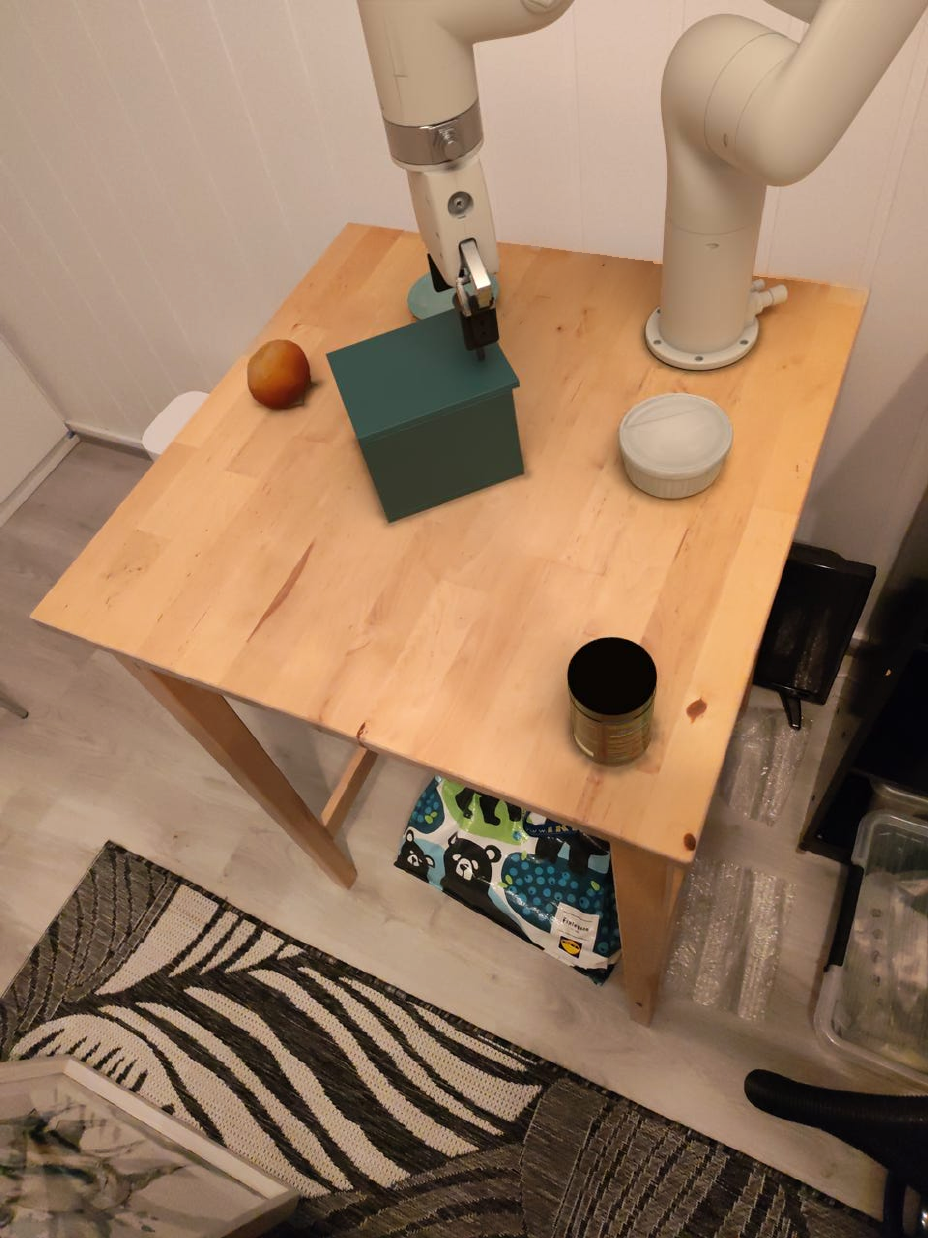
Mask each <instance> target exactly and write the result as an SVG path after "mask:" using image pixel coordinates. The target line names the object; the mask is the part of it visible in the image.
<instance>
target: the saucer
mask: <svg viewBox="0 0 928 1238" xmlns="http://www.w3.org/2000/svg"><path fill="white" fill-rule="evenodd" d="M485 270H486V268H485ZM486 272H487V275H488V277H489V280H490V282H491V286H492V293H493V297H494V301H495V302H496V300H497V297H498V295H499V291H500V285H499V281H498V279H497V277H496V276H495V274H492V275H490V274H489V273H488V271H487V270H486ZM464 273H465V276H466V275H468V272H467V270H466V268H464ZM463 286H464V289H465V291H467V292H468V293H469V295H470V296H473V295H474V293H473V286H472V283H469V284H466V285H463ZM456 292H457V291H456V288H455V287H454V288H451V289H449V290H446V291H443V292H439V293H437V292H436V291H435V289H434V287H433V282H432V277H431V272H430V271H428V272H427V273H425V274H424V275H422V276H421V277H419V278H418V279H417V280H416V281H415V282H414V283H413V285H412V286H411V287H410V289H409V291H408V293H407V298H406V303H407V307H408V310H409V311H410V313H412V315H413V316H414V317H416V318H417V319H419V320H422V319H425V318H428V317H431V316H434V315H436V314H439V313H442V312H445V311H448V310H450V309H453V308H455V307H454V305H453V303H452V298H453V295H454V294H455V293H456Z"/></svg>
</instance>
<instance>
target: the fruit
mask: <svg viewBox="0 0 928 1238" xmlns="http://www.w3.org/2000/svg"><path fill="white" fill-rule="evenodd" d="M246 367H247V368H246V378H247V382H246V383H247V388H248V390H249V393H250V395H251V396H252V399H254V400H255V401H256V402H258V403H260V404H261V405H263V406H264V407H266V408H269V409H273V410H274V409H275V410H276V409H277V410H286V409H289V408H293V407H294V406H297V405H304V398H305V395H306V393H307V390H308V388H309V387H310V386H311V385H317V383H316V382H313V381H312V375H311V367H310V363H309V360H308V358H307V356H306V354H305V352H304V349H302V348H301V347H300V345H299V344H298V343H295V342H293V341H291V340H289V339H274V340H269V341H267V342H265V343H264V344H263V345H261V346H260V348H259V349H258V350H257V351H256V352H255V353H253V355H251V357H250V358H249V360H248V362H247V366H246Z"/></svg>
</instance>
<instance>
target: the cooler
mask: <svg viewBox="0 0 928 1238" xmlns="http://www.w3.org/2000/svg"><path fill="white" fill-rule="evenodd" d="M358 446H359V448H360V452H361V454H362V457H363V459H364V461H365V464H366V466H367V469H368V472H369V474H370V477H371V480H372V483H373V485H374V488H375V490H376V493H377V496H378V499H379V501H380V504H381V507H382V509H383V512H384V514H385V517H386V520H387V522H388V524H390V523H393V522H396V521H398V520H402V519H405V518H407V517H410V516H413V515H415V514H418V513H421V512H424V511H426V510H429V509H433V508H434V507H437V506H439V505H442V504H445V503H448V502H450V501H453V500H456V499H459V498H462V497H464V496H467V495H470V494H472V493H475V492H477V491H480V490H483V489H486V488H489V487H491V486H494V485H497V484H499V483H503V482H505V481H508V480H510V479H514V478H516V477H519V476H522V475H524V474H525V468H524V463H523V454H522V448H521V440H520V433H519V426H518V419H517V413H516V404H515V398H514V389H512V390H509V391H506V392H503V393H501V394H498V395H495V396H492V397H490V398H487V399H484V400H481V401H479V402H476V403H473V404H470V405H468V406H465V407H462V408H459V409H457V410H454V411H451V412H448V413H445V414H443V415H440V416H437V417H434V418H432V419H429V420H426V421H423V422H421V423H418V424H415V425H412V426H410V427H407V428H404V429H401V430H399V431H396V432H393V433H390V434H388V435H385V436H382V437H379V438H376V439H374V440H371V441H368V442H365V443H363V444H360V445H359V444H358Z"/></svg>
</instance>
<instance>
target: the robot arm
mask: <svg viewBox="0 0 928 1238" xmlns="http://www.w3.org/2000/svg"><path fill="white" fill-rule="evenodd" d="M763 1H764V3H766V4H768V5H770V6H772V7H773V8H775V9H777V10H779V11H781V12H783V13H785V14H787V15H789V16H791V17H793V18H796V19H797V20H800V21H802V22H804V23H806V24H808V27H807V28H806V31H805V33H804V35H803V36H802V38H801V40H800V42H797V41H796V40H793V39H792V38H789V37H788V36H787V35H785V34H783V33H781V32H779V31H777V30H775V29H772V28H770V26H769V27H768V26H766V25H765V24H763V23H761V22H758V21H757V20H754V19H751V18H749V17H746V16H743V15H739V14H732V13H717V14H712V15H709V16H706V17H704V18H702V19H700V20H698V21H696V22H695V23H694V24H693V25H690V27H688V28H687V29H686V30H685V31H684V32H683V33H682V34H681V36H680V37H679V38H678V40H677V41H676V42H675V44H674V46H673V47H672V49H671V51H670V52H669V55H668V58H667V60H666V63H665V66H664V69H663V73H662V79H661V86H660V113H661V122H662V123H661V124H662V129H663V136H664V145H665V153H666V154H665V155H666V193H665V194H666V195H665V210H664V226H663V227H664V229H663V245H662V264H661V265H662V267H661V283H660V285H661V286H660V301H659V302H660V303H659V304H660V305H659V306H658V307H656V308H655V309H654V310H653V311H652V312H651V314H650V315H649V317H648V319H647V321H646V324H645V330H644V331H645V341H646V345H647V348H648V349H649V350H650V352H651V353H652V354H653V355H654V356H655V357H656V358H657V359H659V360H660V361H662V362H663V363H665V364H668V365H670V366H671V367H672V366H673V367H675V368H679V369H683V370H692V371H707V370H714V369H719V368H723V367H726V366H729V365H731V364H733V363H735V362H738V361H739V360H741V359H742V358H744V356H746V355H747V354H748V353H749V352H750V351H752V349H753V347H754V346H755V344H756V342H757V339H758V334H759V327H760V326H759V319H758V317H757V316H756V315H759V314H761V313H762V312H763V310H764V309H765V308H767V307H773V306H776V305H779V304H781V303H784V302H786V301H787V300H788V295H789V294H788V290H787V287H786V285H784V284H777V285H775V286H773V287H770V288H767V289H765V288H766V284H765V281H764V279H763V278H758V279H755V280H753V275H754V271H755V262H756V257H757V251H758V244H759V237H760V231H761V227H762V226H761V225H762V221H763V220H762V219H763V213H764V208H765V202H766V201H765V200H766V195H767V187H768V186H769V187H773V188H774V187H776V188H781V187H783V188H784V187H788V186H791V185H795V184H796V183H799V182H800V181H803V180H804V179H805V178H806V177H808V176H809V175H810V174H812V173H813V172H814V171H815V170H816V169H817V168H818V167H819V166H821V164H822V163H823V162H824V161H825V160H826V159H827V157H828V156H829V155H830V154H831V152H832V151H833V150H834V149H835V147H836V146H837V145H838V144H839V142H840V141H841V139H842V138H843V136H844V135H845V134H846V132H847V130H848V129H849V127H850V126H851V124H852V123H853V122H854V120H855V119H856V117H857V116H858V114H859V113H860V111H861V109H863V106H864V105H865V103H866V102H867V101H868V99H869V97H870V96H871V94H872V93H873V92H874V90H875V88H876V87H877V85H878V84H879V83H880V81H881V80H882V78H883V77H884V75H885V74H886V72H887V70H888V69H889V67H891V64H892V63H893V62H894V60H895V58H896V57H897V55H898V54H899V52H900V51H901V49H902V48H903V46H904V44H905V43H906V41H908V39H909V37H910V36H911V34H912V33H913V32H914V30H915V28H916V26H917V25H918V23H919V21H920V20H921V18H922V17H923V15H924V14H925V12H926V10H927V8H928V0H763ZM574 2H575V0H356V5H357V10H358V13H359V18H360V23H361V27H362V33H363V36H364V37H363V38H364V40H365V45H366V50H367V55H368V60H369V63H370V64H369V65H370V68H371V73H372V77H373V82H374V87H375V90H376V95H377V100H378V103H379V109H380V113H381V119H382V122H383V127H384V132H385V135H386V141H387V145H388V146H387V147H388V150H389V155H390V158H391V160H392V163H393V164H394V165H395V166H397V167H398V168H401V169H402V170H405V172H406V173H405V174H406V179H407V183H408V188H409V194H410V198H411V199H410V200H411V203H412V208H413V212H414V216H415V221H416V224H417V228H418V231H419V234H420V237H421V239H422V242H423V244H424V246H425V248H426V250H427V252H428V253H426V256H427V262H428V266H429V272H431V277H432V282H433V287H434V289H435V291H436V292H437V293H439V292H443V291H446V290H449V289H451V288H454V287H455V288H456V291H457V294H458V298H459V301H460V304H461V307H462V311H460V312H459V315H460V320H461V326H462V332H463V337H464V343H465V347H466V348H467V350H468V351H472V350H475V349H478V348H480V347H483V346H486V345H489V344H492V343H495V342H497V343H498V341H499V340H500V331H499V323H498V315H497V309H496V308H497V307H496V300H495V301H494V297H493V293H492V286H491V282H490V280H489V277H488V275H487V272H486V270H487V271H488V273H489V274H490V275H492V274H493V275H497V274H498V273H499V272H500V269H501V260H500V255H499V248H498V242H497V236H496V231H495V224H494V219H493V214H492V213H493V212H492V207H491V202H490V197H489V192H488V187H487V183H486V179H485V173H484V170H483V165H482V163H481V159H480V156H479V151H480V150H481V149H482V147H483V145H484V142H485V134H484V127H483V118H482V110H481V102H480V94H479V85H478V84H479V83H478V77H477V70H476V61H475V60H476V59H475V51H474V45H475V44H479V43H485V42H489V41H495V40H496V41H497V40H501V39H507V38H514V37H519V36H525V35H529V34H533V33H536V32H538V31H541V30H543V29H545V28H548V27H549V26H550V25H552V24H554V23H555V22H556V21H558V20H559V19H560V18H561V17H562V16H563V15H564V14H565V13H566V12H567V11H568V10H569V9H570V8H571V6H572V5H573V4H574ZM464 268H466V270H467V272H468V275H466V276H465V273H464ZM485 269H486V270H485ZM469 283H472V286H473V293H474V295H473V296H470V298H469V300H468V299H467V296H466V292H465V289H464V286H463V285H466V284H469Z"/></svg>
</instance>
